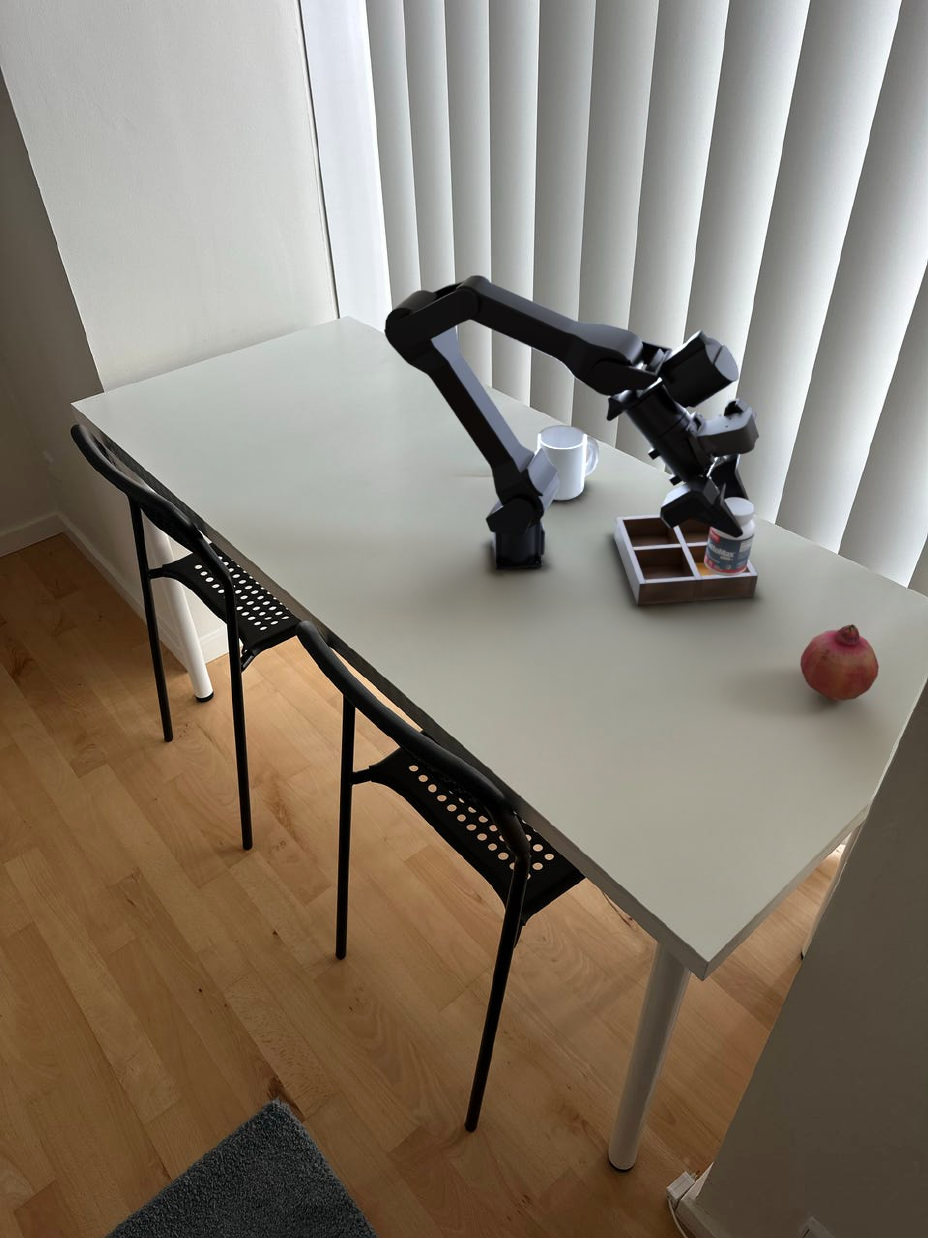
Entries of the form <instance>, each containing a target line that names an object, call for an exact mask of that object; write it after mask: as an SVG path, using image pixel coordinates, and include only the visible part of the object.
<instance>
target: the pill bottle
mask: <svg viewBox="0 0 928 1238" xmlns="http://www.w3.org/2000/svg"><path fill="white" fill-rule="evenodd" d="M724 501H725V502H726V504H727V505H728V507H729V508H730V510H731V512H732V513H733V515H734V517H735V518H736V520H737V521H738V523H739V525H740V527H741V529H742V530H743V535H742V536H740V537H738V538H734V537H732V536H730V535H728V534H725V533H723V532H721V531H719V530H717V529H714V528H712V527H710V532H709V537H708V542H707V548H706V553H705V559H704V562H705V565H706V567H707V568H708V569H709V570H710V571H712V572H714V573H716V574H719V575H722V576H735V575H739V574H741V573H742V572H743V571H744V570H745V569H746V567H747V563H748V559H750V554H751V549H752V545H753V541H754V536H755V533H756V532H755V531H756V525H755V522H754V520H753V519H754V513H755V506H754V504H753V503H752V502H751V501H750V500H749V501H750V502H749V501H748V500H746V499H743V498H736V497H732V498H727V499H725V500H724Z"/></svg>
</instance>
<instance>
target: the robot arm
mask: <svg viewBox="0 0 928 1238" xmlns="http://www.w3.org/2000/svg"><path fill="white" fill-rule="evenodd" d="M467 321H472V322H475V323H477V324H479V325H480V326H481V325H482V326H484V327H486V328H488V329H490V330H492V331H494V332H496V333H498V334H501V335H503V336H505V337H507V338H510V339H511V340H514V341H516V342H518V343H521V344H523V345H524V346H527V347H529V348H532V349H534V350H535V351H538V352H539V353H540V352H541V353H542V354H544V355H547V356H549V357H551V358H553V359H555V360H557V361H558V362H560V363H561V364H562V365H564V367H566V369H567V370H568V371H569V372H570V374H571V375H572V376H573V377H574V379H576V380H578V381H579V382H581V383H582V384H584V385H585V386H587V387H588V388H589V389H591V390H592V391H594V392H595V393H597V394H599V395H600V396H601V395H602V396H605V397H608V398H607V404H608V405H607V406H608V407H607V412H606V417H605V418H606V421H607V422H612V421H614V419H616V418H618V417H619V416H620V415H622V414H624V415H625V416H626V418H627V419H628V420H629V421H630V422H631V424H632V425H633V426H634V427H635V428H636V430H637V431H638V432H639V434H640V435H641V436H642V437H643V438H644V440H645V441H646V442H647V444H648V445H649V446H650V449H649V451H648V452H647V455H648V456H649V458H650V459H651V460H652V461H654V460H655V459H657V458H659V459H660V460H661V461H662V463H664V465H665V466H666V467H667V468H668V470H669V471H670V472H671V475H670V476H669V479H668V481H669V482H670V484H671V485H672V486H673V487H675V486H676V485H678V484H680V483H682V482H683V484H681V485H679V486H678V487H676V488H674V489H673V490H671V491H669V492H668V493H667V495H666V497H665V499H664V500H663V502H662V504H661V506H660V510H659V511H660V512H659V514H660V518H661V519H662V520H663V521H664V523H665V524H666V525H667V526H668V527H669V528H670V529H672V528H674V527H676V526H678V525H680V524H682V523H683V522H685V521H687V520H689V519H691V520H694V521H697V522H700V523H702V524H705V525H707V526H710V527H712V528H714V529H717V530H719V531H721V532H723V533H725V534H728V535H730V536H732V537H734V538H738V537H740V536H742V535H743V530H742V529H741V527H740V525H739V523H738V521H737V520H736V518H735V517H734V515H733V513H732V512H731V510H730V508H729V507H728V505H727V504H726V502H725V501H724V500H725V499H727V498H732V497H736V498H743V499H746V500H748V501H749V502H751V501H750V499H749V496H748V493H747V491H746V489H745V486H744V483H743V481H742V478H741V475H740V471H739V466H738V465H739V461H740V456H741V455H746V454H748V453H750V452H752V451H753V450H754V449H755V447H756V442H757V440H758V439H759V438H760V434H759V430H758V427H757V424H756V420H757V418H758V414H757V412H755V411H753V408H752V407H751V406H749V405H748V404H746V402H745V401H743V400H742V399H741V397H738V398H733V399H729V400H728V401H727V403H726V405H725V407H724V412H723V414H721V413H719V414H717V416H716V417H714V418H712V419H709V420H707V419H706V418H705V417H704V416H703V415H702V413H699V412H697V411H694V412H693V413H691V414H690V413H689V411H688V410H687V408H693V409H694V408H697V407H699V406H700V405H702V404H703V403H705V402H707V401H708V400H710V399H711V398H713V397H714V396H716V395H717V394H719V393H720V392H722V391H724V390H725V389H726V388H728V387H729V386H731V385H733V384H734V383H736V382H738V380H739V378H740V370H739V367H738V364H737V361H736V359H735V357H734V355H733V353H732V352H731V351H730V349H729V347H727V346H726V344H722V343H721V342H720V341H719V340H717V339H716V338H714V337H711V336H709V335H707V333H706V332H705V331H704V330H703V329H700V330H698V331H697V332H696V333H694V334H693V335H692V336H691V337H690V338H689V339H688V340H687V341H686V342H685V343H683V344H682V345H680V346H679V347H677V348H676V349H675V350H673V348H671V347H667V346H665V345H660V344H657V343H654V342H650V341H647V340H645V339H644V340H643V339H642V338H641V337H640V336H639V335H637V334H636V333H634V332H633V331H631V330H629V329H625V328H621V327H617V326H614V325H610V324H606V323H597V322H595V323H593V322H591V323H590V322H582V321H578V320H574V319H572V318H570V317H568V316H565V315H563V314H561V313H559V312H557V311H554V310H552V309H550V308H548V307H546V306H543V305H541V304H540V303H537V302H534V301H532V300H530V299H528V298H525V297H523V296H521V295H520V294H517V293H515V292H512V291H510V290H508V289H506V288H504V287H501V286H499V285H497V284H495V283H492V282H491V280H489V279H488V278H487V277H486V276H484V275H479V274H478V275H477V274H476V275H471V276H469V277H467V278H465V279H464V280H462V281H458V282H455V283H454V282H453V283H452V284H448V285H445V286H443V287H441V288H439V289H436V290H434V291H429V290H426V289H422V290H421V289H419V290H416V291H413V292H412V293H411V294H409V296H408V297H406V298H405V299H404V300H403V301H402V302H400V303H399V304H398V305H397V306H396V307H395V308H394V309H393V310H391V311H390V312H389V313H388V314H387V317H386V319H385V321H384V322H385V323H384V330H383V331H384V336H385V338H386V340H387V342H388V344H389V345H390V346H391V347H392V348H393V349H394V351H396V353H397V354H398V355H399V356H400V357H401V358H402V360H404V361H405V362H406V363H407V364H408V365H409V366H411V367H413V368H415V369H417V370H419V371H420V372H422V373H424V374H425V375H427V376H428V377H429V378H430V380H431V381H432V383H433V385H435V387H436V388H437V390H438V392H439V393H440V394H441V396H442V397H443V399H444V400H445V402H446V403H447V405H448V406H449V408H450V409H451V410H452V412H453V413H454V415H455V416H456V418H457V419H458V422H460V424H461V425H462V427H463V428H464V430H465V431H466V433H467V435H468V436H469V437H470V438H471V440H472V441H473V443H474V445H475V446H476V447H477V449H478V451H479V452H480V453H481V455H482V456H483V458H484V459H485V461H486V463H488V465H489V467H490V470H491V474H492V479H493V480H492V481H493V485H494V491H495V494H496V496H497V498H498V500H497V501H496V503H495V505H493V508H492V509H491V510H490V512H489V513H488V514H487V516H486V518H485V522H486V524H487V527H488V529H489V531H490V533H492V536H493V537H492V541H491V549H492V554H493V561H494V566H495V569H496V570H497V571H501V570H516V569H517V570H519V569H529V568H530V569H531V568H541V567H542V566H543V563H544V562H543V559H542V556H544V555H545V550H546V549H545V548H546V529H545V525H544V522H543V521H542V519H543V517H544V515H545V514H546V512H547V510H548V509H549V507H550V505H552V502H553V501H554V500H553V499H554V497H555V496H556V494H557V492H558V488H559V479H558V477H557V473H558V471H559V470H558V469H557V468H556V467H554V466H553V465H552V463H551V462H550V460H549V459H548V456H547V454H546V452H545V451H544V450H543V449H542V448H540V449H539V450H538V449H537V450H535V452H534V451H533V450H530V449H529V448H527V447H525V446H523V445H522V443H521V442H520V441H519V440H518V438H517V436H516V435H515V433H514V432H513V431H512V430H513V429H511V427H510V426H509V424H508V423H507V421H506V419H505V418H504V417H503V415H502V414H501V412H500V410H499V409H498V408H497V406H496V405H495V403H494V401H493V400H492V398H491V397H490V395H489V394H488V392H487V390H486V389H485V388H484V386H483V384H482V382H480V380H479V379H478V377H477V376H476V374H475V372H474V371H473V370H472V368H471V366H470V365H469V363H468V361H467V360H466V359H465V357H464V356H463V353H462V352H461V349H460V343H459V338H458V332H457V326H458V325H460V324H463V323H465V322H467ZM643 365H646V366H645V367H644V369H642V367H643Z"/></svg>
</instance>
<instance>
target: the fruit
mask: <svg viewBox="0 0 928 1238" xmlns="http://www.w3.org/2000/svg"><path fill="white" fill-rule="evenodd" d="M799 664H800V670H801V674H802V675H803V678H804V680H805V681H806V683H807V684H808V685H809V687H810V688H811V689H812V690H814V691H816V692H817V693H819V694H820V695H822V696H824V697H827V698H829V699H832V700H836V701H850V700H855V699H857V698H858V697H860V696H862V695H863V694H865V693H866V692H868V691H869V690H870V689H871V687H872V686H873V684H874V683H875V682H876V681H875V680H876V679H877V678H878V675H879V662H878V659H877V656H876V654H875V651H874V649H873V646H872V645H871V644H870V642H869V641H868V639H866V638H864V637H863V636H861V635H860V631H859V628H858V627H856V625H855V624H854V623H853V624H852V623H851V624H847V625H844V626H842V627H840V629H832V630H825V631H824V632H822V633H820V634H818V635H816V636H814V637H813V638H812V639H811V640H810V641H809V643H808V645H807V646H806V647H805V649H804V651H803V652H802V655H801V657H800V661H799Z"/></svg>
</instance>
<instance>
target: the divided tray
mask: <svg viewBox="0 0 928 1238" xmlns="http://www.w3.org/2000/svg"><path fill="white" fill-rule="evenodd" d="M709 532H710V526H707V525H705V524H702V523H700V522H697V521H694V520H691V519H689V520H687V521H685V522H683V523H682V524H680V525H678V526H676V527H674V528H672V529H670V528H669V527H668V526H667V525H666V524H665V523H664V521H663V520H662V519H661V518H660V513H658V514H646V515H629V516H628V515H627V516H617V517H615V524H614V536H613V538H614V542H615V544H616V546H617V550H618V553H619V556H620V558H621V562H622V564H623V568H624V571H625V573H626V576H627V580H628V582H629V584H630V588H631V590H632V593H633V597H634V599H635V603H636V605H637V606H643V605H657V604H669V603H686V602H699V601H711V600H712V601H713V600H714V601H715V600H727V599H741V598H754V596H755V592H756V588H757V587H756V586H757V583H758V578H759V575H758V573H757V571H756V569H755V567H754V565H753V563H752V561H751V560H750V558H749V559H748V563H747V567H746V569H745V570H744V571H743V572H742V573H741V574H739V575H735V576H722V575H719V574H716V573H714V572H712V571H710V570H709V569H708V568H707V567H706V565H705V562H704V559H705V553H706V548H707V542H708V537H709Z"/></svg>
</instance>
